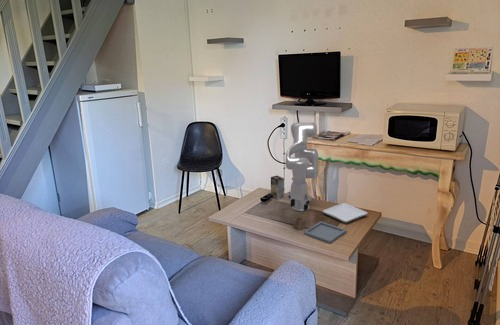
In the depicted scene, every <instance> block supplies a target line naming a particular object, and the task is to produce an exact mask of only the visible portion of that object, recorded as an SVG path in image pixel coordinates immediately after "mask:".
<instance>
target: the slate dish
mask: <svg viewBox="0 0 500 325" xmlns="http://www.w3.org/2000/svg"><path fill="white" fill-rule="evenodd" d="M345 234H347V229H345V228H342V227H338V226H335V225H333V224H329V223H326V222H324V221H319V222H317V223H316V224H314V225H312V226H311V227H308V228H307V229H306V230H304V231H303V235H305V236H307V237H309V238H312V239H314V240H318V241H321V242H324V243H327V244H329V245H331V244H332V243H334V242H335V241H337V240H339V238H340V237H342V236H345Z"/></svg>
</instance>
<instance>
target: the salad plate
mask: <svg viewBox="0 0 500 325" xmlns="http://www.w3.org/2000/svg"><path fill="white" fill-rule="evenodd" d="M322 213H324V214H325V215H327V216H330V217H331V218H334V219H336V220H338V221H340V222H343V223H349V222H351V221H354V220H357V219H359V218H361V217H364V216H366V215H367V214H368V212H367V211H365V210H364V209H361V208H358V207H356V206H353V205H351V204H348V203H346V202H343V203H339V204H336V205H334V206H331V207H329V208H328V207H327V208H325V209H323V210H322Z"/></svg>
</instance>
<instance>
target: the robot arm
mask: <svg viewBox="0 0 500 325" xmlns="http://www.w3.org/2000/svg"><path fill="white" fill-rule="evenodd" d="M290 132H291V136H292V138H293V144H292V145H290V147H289V148H288V149H287V150H286V154H285V168H286V169H288V170H291V171H292V172H291V173H292V178H291V181H292V182H291V185H290V191H287V196H288V198H289V203H290V207H291V209H292V210H293V211H296V212H305V211H309V209H310V208H311V206H310V205H309V204H310V203H311V201H312V200H313V198H312V197H311V196H310V195H309V194H308V193H309V191H308V182H307V181H306V180H307V179H317V178H318V177H319V153H318V150H317V149H316V148H308V138H316V137H317V134H318V126H317V124H316V122H294V123H292V124H291V125H290ZM293 154H294V157H291V156H292V155H293Z"/></svg>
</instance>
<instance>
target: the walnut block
mask: <svg viewBox="0 0 500 325" xmlns="http://www.w3.org/2000/svg"><path fill="white" fill-rule="evenodd" d="M305 227H306V219H305V218H303V217H300V216H298V217H296V218H294V219H293V229H294V230H297V231H301V232H302V230H303V229H306V228H305Z"/></svg>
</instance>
